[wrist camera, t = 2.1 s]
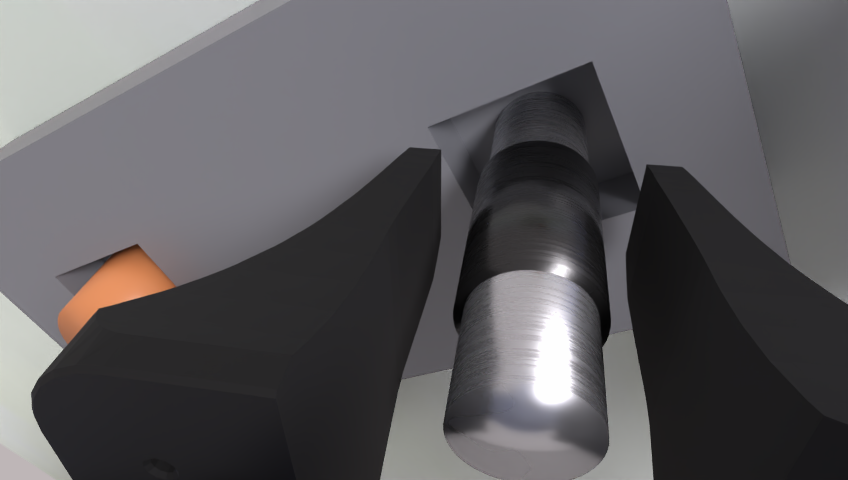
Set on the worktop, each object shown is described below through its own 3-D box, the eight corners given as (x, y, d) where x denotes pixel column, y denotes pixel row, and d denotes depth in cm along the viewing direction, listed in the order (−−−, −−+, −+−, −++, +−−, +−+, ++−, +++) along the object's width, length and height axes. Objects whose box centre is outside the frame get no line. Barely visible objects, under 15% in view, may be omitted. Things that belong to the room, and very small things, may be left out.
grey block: (644, -219, 12) (675, -213, 9) (752, 193, 17) (797, 293, 13) (12, 140, 20) (-90, 210, 17) (207, 347, 25) (156, 432, 21)
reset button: (170, 216, 18) (106, 290, 15) (230, 286, 19) (180, 365, 16) (106, 243, 19) (36, 316, 16) (166, 307, 20) (110, 384, 18)
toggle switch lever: (616, 124, 13) (665, 438, 7) (547, 194, 15) (539, 510, 8) (531, 63, 13) (504, 344, 7) (468, 142, 14) (397, 436, 8)
